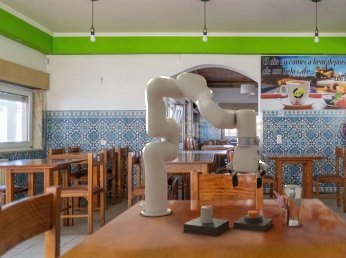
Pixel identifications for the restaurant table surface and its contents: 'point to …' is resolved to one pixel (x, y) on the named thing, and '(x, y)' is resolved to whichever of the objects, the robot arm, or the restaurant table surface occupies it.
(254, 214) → the power button
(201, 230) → the panel
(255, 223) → the power block
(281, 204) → the lily
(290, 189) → the beer glass
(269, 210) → the restaurant table surface
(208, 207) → the timer knob
